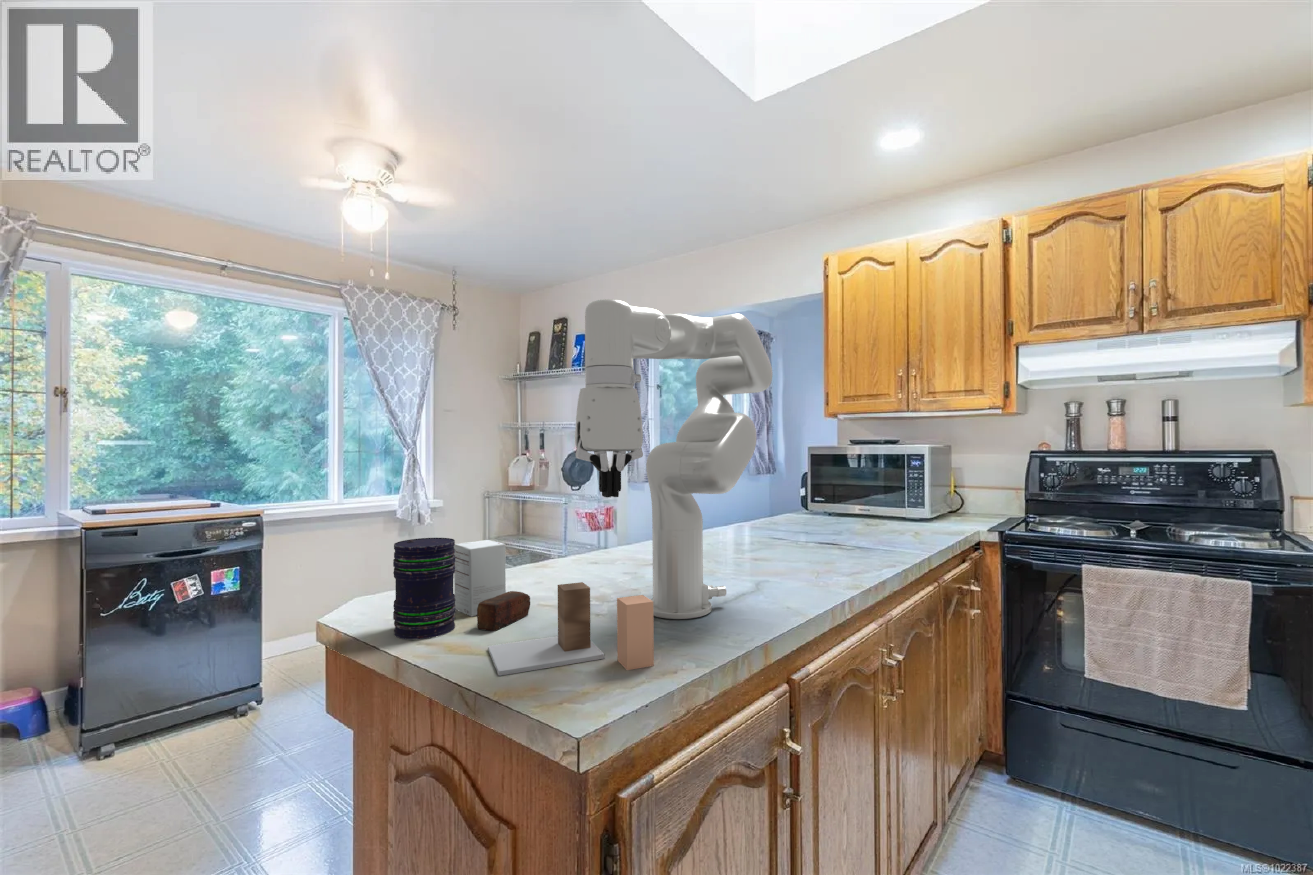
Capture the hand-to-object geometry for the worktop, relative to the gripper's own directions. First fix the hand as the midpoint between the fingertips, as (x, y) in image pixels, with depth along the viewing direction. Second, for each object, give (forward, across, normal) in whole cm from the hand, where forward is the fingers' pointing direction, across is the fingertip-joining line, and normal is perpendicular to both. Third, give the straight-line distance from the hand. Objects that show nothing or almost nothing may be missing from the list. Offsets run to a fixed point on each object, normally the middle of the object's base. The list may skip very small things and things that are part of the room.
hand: (610, 496), depth 90 cm
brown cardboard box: (+22, +6, 0) cm, 23 cm away
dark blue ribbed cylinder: (+23, +26, -20) cm, 41 cm away
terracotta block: (+23, 0, +9) cm, 25 cm away
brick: (+24, +13, -19) cm, 33 cm away
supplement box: (+23, +16, -29) cm, 41 cm away
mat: (+23, +10, 0) cm, 25 cm away
